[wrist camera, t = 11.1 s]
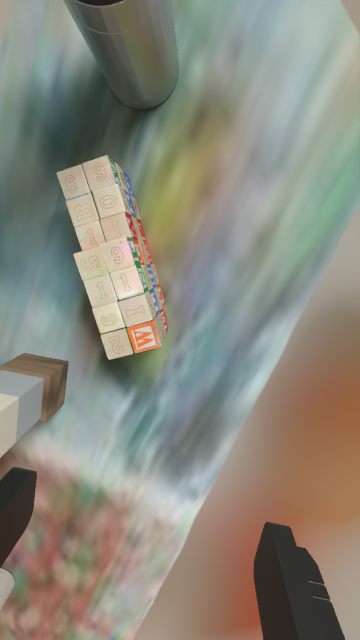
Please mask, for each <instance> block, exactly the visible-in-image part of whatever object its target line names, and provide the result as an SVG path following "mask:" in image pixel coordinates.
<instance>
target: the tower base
mask: <svg viewBox="0 0 360 640" xmlns="http://www.w3.org/2000/svg"><path fill="white" fill-rule="evenodd" d="M1 370H4V371H9V372H15V373H20V374H25V375H30V376H35V377H40V378H44V386H43V397H42V408H41V418H40V419H39V420H38V421H42V422H46V421H47V420H48V419H49V418H50V417H51V416H52V415H53V414H54V413H55V412H56V411H57V410H58V409H59V408H60V407H61V406H62V405H63V404H64V398H65V389H66V380H67V370H68V361H63V360H58V359H53V358H47V357H42V356H37V355H32V354H27V353H24V354H22V355H20V356H18V357H16V358H14V359H12V360H11V361H9V362H7V363H5V364H3V365H1V366H0V371H1Z"/></svg>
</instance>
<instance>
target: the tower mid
mask: <svg viewBox="0 0 360 640" xmlns="http://www.w3.org/2000/svg"><path fill="white" fill-rule="evenodd" d="M43 386H44V378H40V377H35V376H30V375H25V374H20V373H15V372H9V371H4V370H1V371H0V393H1V394H6V395H11V396H16V397H19V408H18V419H17V431H16V442H17V441H18V440H19V439H20V438H21V437H22V436H23V435H24V434H25V433H26V432H27V431H28V430H29V429H30V428H31V427H32V426H33V425H34V424H35V423H36V422H37V421H38V420H39V419H40V418H41V408H42V397H43Z"/></svg>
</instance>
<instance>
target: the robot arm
mask: <svg viewBox="0 0 360 640" xmlns="http://www.w3.org/2000/svg"><path fill="white" fill-rule="evenodd" d="M63 1H64V2H65V4H66V6H67V8H68V9H69V11H70V13H71V15H72V17H73V19H74V21H75V22H76V24H77V26H78V28H79V30H80V32H81V34H82V35H83V37H84V39H85V41H86V43H87V45H88V47H89V48H90V50H91V52H92V54H93V56H94V58H95V60H96V61H97V63H98V65H99V67H100V69H101V71H102V73H103V75H104V76H105V78H106V80H107V82H108V84H109V86H110V88H111V89H112V91H113V93H114V94H115V95H116V97H117V98H118V99H119V100H120V101H121V102H122V103H124V104H125V105H127V106H129V107H131V108H135V109H150V108H153V107H156V106H158V105H160V104H161V103H162V102H164V101H165V100H166V99H167V98H168V97H169V95H170V94H171V93H172V91H173V89H174V87H175V85H176V82H177V79H178V72H179V63H178V53H177V45H176V36H175V28H174V19H173V11H172V3H171V0H63ZM36 478H37V473H36V471H32V470H27V469H22V468H18V467H13V468H12V469H11V470H10V471H9V472H8V473H7V474H6V475H5V476H4V477H3V478H2V480H1V481H0V568H1V566H2V565H3V563H4V562H5V560H6V559H7V557H8V556H9V554H10V552H11V551H12V549H13V548H14V546H15V545H16V543H17V542H18V540H19V539H20V537H21V535H22V534H23V532H24V531H25V529H26V527H27V525H28V523H29V521H30V519H31V516H32V512H33V507H34V498H35V488H36ZM254 583H255V589H256V596H257V602H258V608H259V614H260V621H261V626H262V633H263V639H264V640H345V638H344V635H343V633H342V630H341V627H340V624H339V622H338V619H337V616H336V614H335V611H334V608H333V605H332V603H331V602H330V597H329V595H328V592H327V589H326V587H324V582H323V579H322V576H321V573H320V571H319V568H318V565H317V564H316V562H315V561H314V560H313V558H312V557H311V555H310V554H309V553H308V551H307V550H306V549H305V548H302V547H297V546H296V543H295V540H294V537H293V534H292V531H291V528H290V527H289V526H285V525H280V524H276V523H271V522H266V523H265V525H264V528H263V531H262V535H261V538H260V542H259V545H258V548H257V552H256V556H255V560H254Z"/></svg>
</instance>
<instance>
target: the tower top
mask: <svg viewBox="0 0 360 640" xmlns="http://www.w3.org/2000/svg"><path fill="white" fill-rule="evenodd" d="M18 408H19V397H16V396H11V395H6V394H1V393H0V458H1V457H2V456H3V455H4V454H5V453H6V452H7V451H8V450H9V449H10V448H11V447H12V446H13V445H14V444H15V443H16V431H17V419H18Z"/></svg>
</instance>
